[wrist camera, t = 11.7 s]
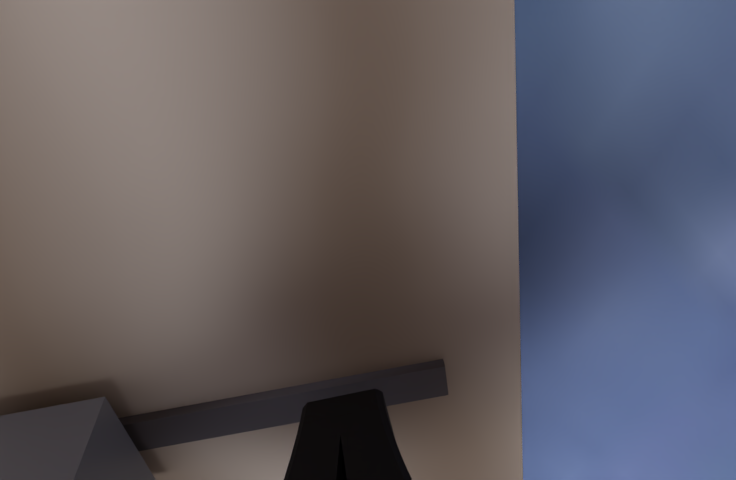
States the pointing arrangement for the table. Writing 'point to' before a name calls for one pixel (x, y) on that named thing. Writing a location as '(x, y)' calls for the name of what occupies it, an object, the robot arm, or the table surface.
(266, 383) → the console
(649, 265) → the table surface
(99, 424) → the fader
